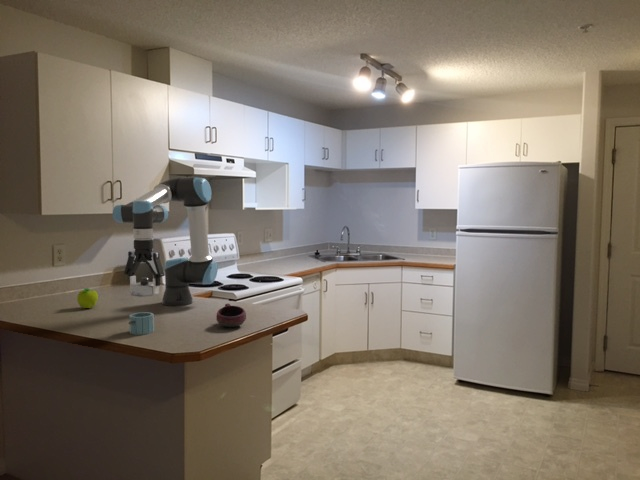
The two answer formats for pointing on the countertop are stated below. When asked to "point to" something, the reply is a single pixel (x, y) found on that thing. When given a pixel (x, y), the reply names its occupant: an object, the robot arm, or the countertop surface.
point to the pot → (141, 323)
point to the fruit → (87, 298)
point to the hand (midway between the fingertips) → (144, 292)
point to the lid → (142, 288)
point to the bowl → (231, 316)
